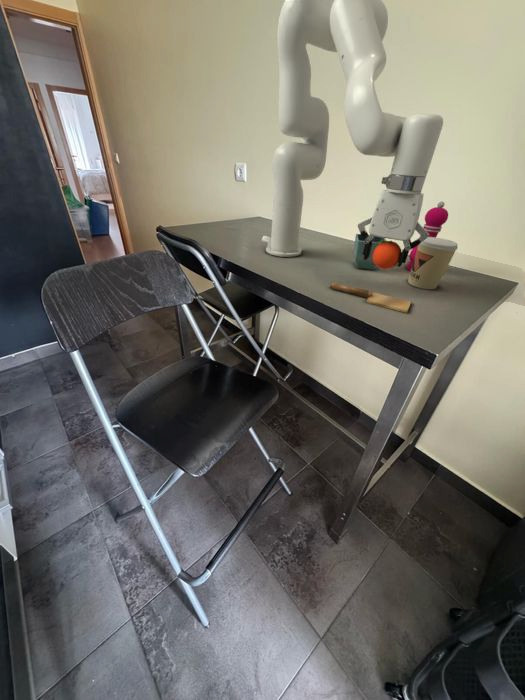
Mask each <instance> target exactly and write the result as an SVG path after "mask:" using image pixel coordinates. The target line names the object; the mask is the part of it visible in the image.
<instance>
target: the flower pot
mask: <svg viewBox="0 0 525 700" xmlns="http://www.w3.org/2000/svg"><path fill="white" fill-rule="evenodd" d="M360 234H361V233H356V234H355V239H354V246H353V257H354V264H355V268H357V269H362V270H363V269H364V270H371V271H372V270H374V269H375V268H376V267H377V266H376V265H375V264H374V262H373V257H372V256H373V252H374V249H375V248H376V247H377V246H378V245H379V244H380V243H382V242H379V241H387V238H382V237H376V236H375V237H374V238H373V239H372V243H373V244H374V245H373V244H372V248H371V251H370V255H369V258H368V259H366V260H364V255H363V251H364V247H365V243H364V240H363V238H362V236H361V235H360ZM376 242H379V243H376ZM375 243H376V244H375Z"/></svg>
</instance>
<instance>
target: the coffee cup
mask: <svg viewBox="0 0 525 700" xmlns="http://www.w3.org/2000/svg"><path fill="white" fill-rule="evenodd" d="M458 245H459V244H458V243H457V242H455V241H453V240H451V239H446V238H442V237H436V238H435V237H428V238H426V239H425V240H424V241H423V242H421V243H420V244H419V245H418V248H417V252H416V255H415V258H414V262H413V265H412V269H411V271H409V277H408V281H407V282H408V284H409V285H411V286H413V287H415V288H419V289H423V290H435V289H437V287H438V286H439V284H440V282H441V280H442V279H443V276H444V275H445V273H446V271H447V268H448V267H449V265H450V263H451V261H452V259H453V257H454V255H455V253H456V251H457V250H458Z"/></svg>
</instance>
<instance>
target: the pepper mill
mask: <svg viewBox="0 0 525 700" xmlns="http://www.w3.org/2000/svg"><path fill="white" fill-rule="evenodd" d="M445 204H446V203H445V202H444V201H443V200H442V201H439V202H438V203H437V207H432V208H430V209H429V210H427V212H426V213H425V215H424V223H425V224H423V228H424V229H425V230H426V231H427V232H428V233H429V236H428V237H435V238H438V237H437V236H438V235H439V233H441V231H442V229H443V225H444V224H446V223H447V221H448V219H449V212H448V210H447V209H446V208H444V207H445ZM417 248H418V246H416V247H414V248H413V249H411V250H410V251H409V253H408V258H409V260H410V261H408V262H407V265H406V270H408V271H409V272H411V269H412V265H413V262H414V258H415V255H416V252H417Z"/></svg>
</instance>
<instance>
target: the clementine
mask: <svg viewBox="0 0 525 700" xmlns="http://www.w3.org/2000/svg"><path fill="white" fill-rule="evenodd" d="M379 242H382V243H380V244H379V245H378V246H377V247H376V248H375V249H374V252H373V256H372V257H373V262H374V264H375V265H376V267H377V268H379V269H382V270H388V269H392V268H394V267H395V266H397V265H398V262H399V259H400V256H401V253H402V249H401V246H400V245H399V244H398V243H397V242H396V241H394V240H386V241H379ZM379 242H376V243H379ZM376 243H375V244H376ZM373 245H374V244H373ZM371 247H372V246H371Z"/></svg>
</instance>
